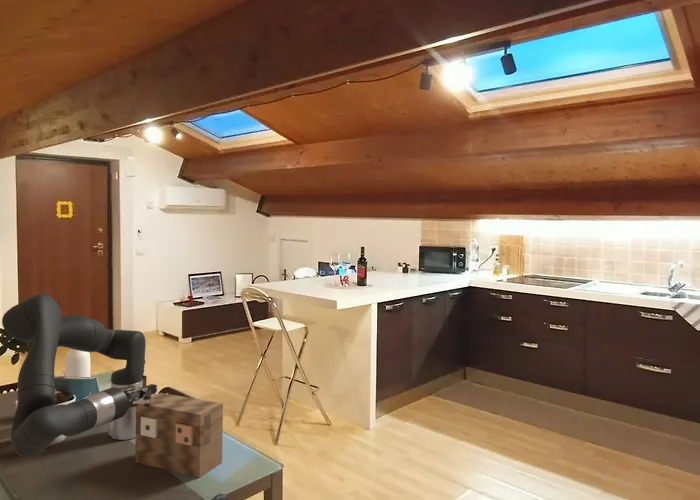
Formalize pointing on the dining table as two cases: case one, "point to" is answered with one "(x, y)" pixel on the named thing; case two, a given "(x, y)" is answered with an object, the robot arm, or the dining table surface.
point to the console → (164, 447)
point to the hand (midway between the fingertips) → (154, 388)
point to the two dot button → (184, 433)
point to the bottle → (78, 363)
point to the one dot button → (149, 426)
